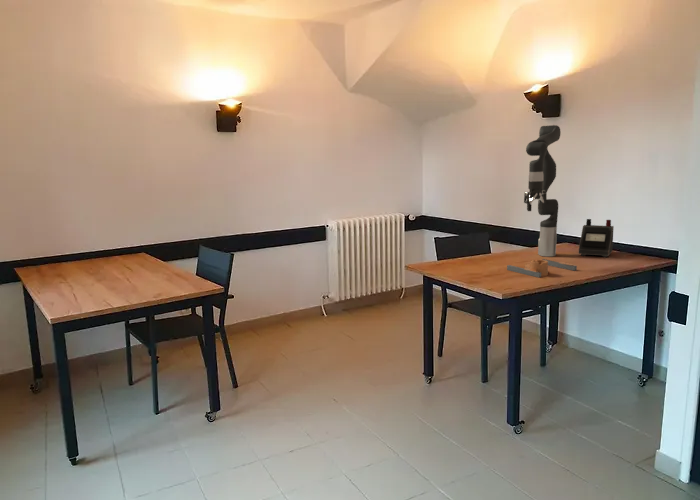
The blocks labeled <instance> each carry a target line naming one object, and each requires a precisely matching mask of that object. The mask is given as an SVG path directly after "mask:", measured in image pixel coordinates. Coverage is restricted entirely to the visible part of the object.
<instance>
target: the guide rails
mask: <svg viewBox="0 0 700 500" xmlns="http://www.w3.org/2000/svg"><path fill="white" fill-rule="evenodd" d="M541 260H546V261H548V267H549V266H550V267H555V268H559V269H565V270H568V271H573V272H575V271H576V272H577V271H578V265H575V264H573V263H567V262H563V261H556V260H555V261H554V260H549V259H544V258H543V259H541ZM506 270H507V271H510V272H513V273H514V272H515V273H519V274H522V275H526V276H530V277H536V278H542V276H541V272H538V271H536V270H532V269H527V268H525V267H520V266H515V265H512V264H507V265H506Z"/></svg>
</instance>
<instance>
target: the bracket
mask: <svg viewBox="0 0 700 500" xmlns="http://www.w3.org/2000/svg"><path fill="white" fill-rule="evenodd" d="M546 260H547V259H545V260H542V259H536V260H535V259H533V260H530V263H526V264H524V268H527V269H532V270H536V271H538V272H541V277H547V276H548V274H549V273H548V271H549V270H548V268H549V265H548V261H546Z"/></svg>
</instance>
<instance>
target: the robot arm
mask: <svg viewBox="0 0 700 500" xmlns="http://www.w3.org/2000/svg"><path fill="white" fill-rule="evenodd" d="M561 135H562V134H561V128H560V125H555V124H553V125H542V126H540V127H539V133H538V138H537V139H535V140H532V141H530V142H529V143H527V145H526V148H525V152H526V153H527V155H528V156H531V157H537V156H538V158H537V159H533V160H531V161H529V168H528V169H529V172H528V188H527V189H528V191H524V194H523V195H524V197H523V203H524V204H526V210H527V212H532V203H533V202H534V201H535V200H537V202H538V203H537V211H538V215H540V216H548V218H546V219H544V220H541V221H540V223H539V238H538V244H537V255H539V256H541V257H555V256H556V255H557V236H558V235H557V229H558V228H557V227H558V218H559V217H558V215H559V201H558V200H557V199H556V198H552V199H551V198H547V197H548V196H547V193H548V191H549V190H550V189H549V188H551V186H552V184H553V182H555V179H556V177H557V163H556V161H555V160H554V158H553V157H552V155H551V154H550V151H549V149H548V146H550V145H552V144H554V143H555V142H558V141H559V140H560V138H561Z"/></svg>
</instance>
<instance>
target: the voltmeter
mask: <svg viewBox="0 0 700 500" xmlns="http://www.w3.org/2000/svg"><path fill="white" fill-rule="evenodd" d="M605 221H606V223H605V225H595V224H594V225H593V224H592V219H590V218H586V223H585V224H584V225H582V228H581V229H582V230H581V234H580V241H579V244H578V245H579V246H578V255H580V256H581V257H585V256H586V255H592V256H594V255H595V256H602V258H605V259H606V258H607V257H608V256H610V254H611V253H612V252H613V245H614V225H612V220H611V219H606V220H605Z"/></svg>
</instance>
